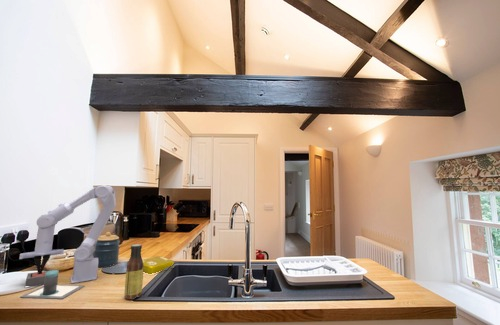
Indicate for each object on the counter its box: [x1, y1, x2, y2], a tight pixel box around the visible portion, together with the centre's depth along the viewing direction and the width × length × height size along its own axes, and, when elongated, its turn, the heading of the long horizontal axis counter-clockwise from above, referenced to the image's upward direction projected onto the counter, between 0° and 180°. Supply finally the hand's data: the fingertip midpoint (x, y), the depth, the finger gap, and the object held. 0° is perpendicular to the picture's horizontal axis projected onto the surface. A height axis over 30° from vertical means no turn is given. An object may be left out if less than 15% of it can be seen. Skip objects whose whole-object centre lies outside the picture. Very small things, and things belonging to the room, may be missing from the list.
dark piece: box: [43, 269, 60, 295], centre depth 90 cm, size 4×4×8 cm
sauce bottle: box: [123, 243, 144, 300], centre depth 92 cm, size 7×6×20 cm
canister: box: [92, 231, 121, 269], centre depth 129 cm, size 13×13×18 cm
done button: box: [32, 271, 46, 277], centre depth 101 cm, size 5×5×3 cm
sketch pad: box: [19, 283, 86, 300], centre depth 92 cm, size 16×12×1 cm
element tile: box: [142, 255, 175, 274], centre depth 124 cm, size 15×15×5 cm
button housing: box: [24, 269, 51, 287], centre depth 100 cm, size 8×8×4 cm
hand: (39, 273), depth 101 cm, fingers closed
